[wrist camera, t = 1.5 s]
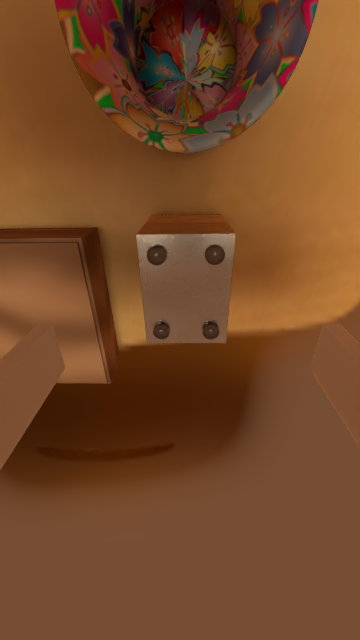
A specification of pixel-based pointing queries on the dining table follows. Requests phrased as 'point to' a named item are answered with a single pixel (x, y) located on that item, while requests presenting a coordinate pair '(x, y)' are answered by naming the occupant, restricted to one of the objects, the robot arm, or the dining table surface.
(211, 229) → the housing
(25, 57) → the dining table surface
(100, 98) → the mug
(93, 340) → the stand
